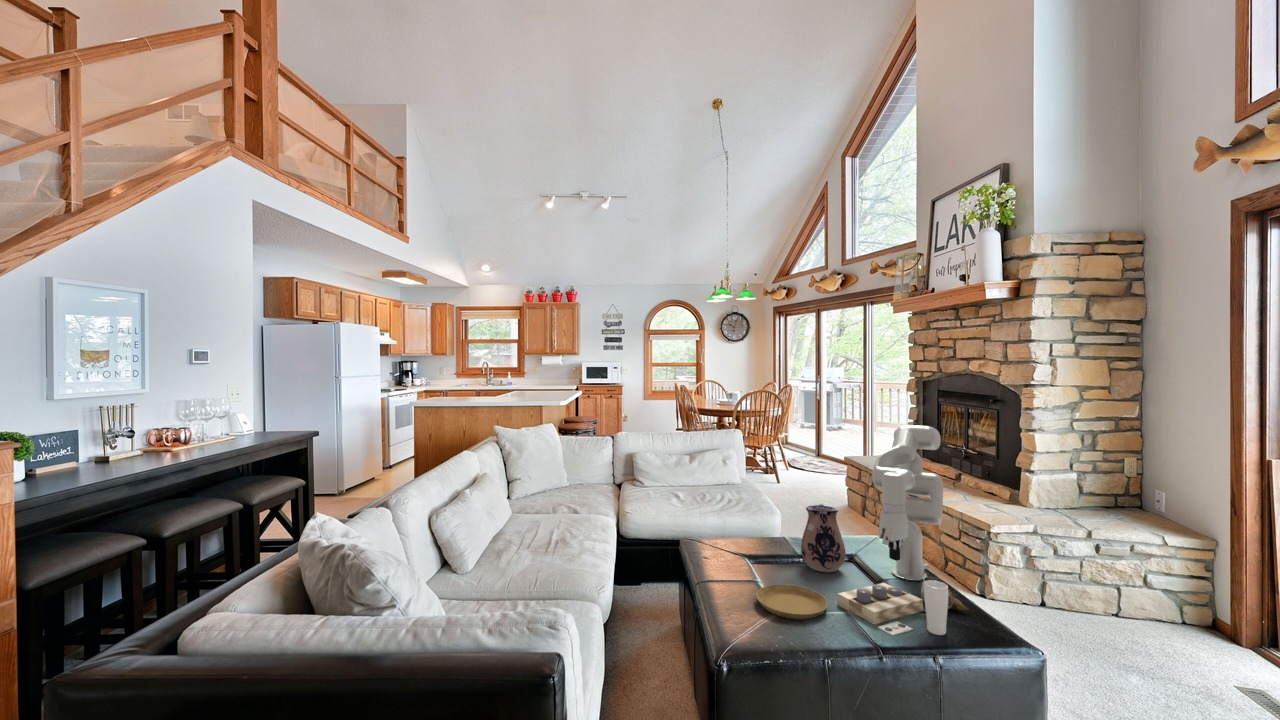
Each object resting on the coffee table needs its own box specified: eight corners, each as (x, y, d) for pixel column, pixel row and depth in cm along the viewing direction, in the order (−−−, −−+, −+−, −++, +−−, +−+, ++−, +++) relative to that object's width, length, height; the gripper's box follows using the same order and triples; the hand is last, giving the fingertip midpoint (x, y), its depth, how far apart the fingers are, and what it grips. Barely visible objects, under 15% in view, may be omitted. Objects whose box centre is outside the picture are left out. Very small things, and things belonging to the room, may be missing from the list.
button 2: (893, 599, 193) (893, 586, 193) (905, 605, 189) (904, 591, 189) (884, 602, 191) (884, 588, 191) (895, 607, 187) (895, 593, 187)
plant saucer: (839, 607, 188) (839, 597, 188) (806, 630, 171) (806, 620, 171) (778, 587, 205) (778, 578, 205) (743, 607, 188) (743, 597, 188)
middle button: (878, 597, 190) (878, 584, 190) (889, 603, 186) (889, 589, 186) (869, 600, 188) (869, 586, 188) (880, 605, 184) (880, 591, 184)
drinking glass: (919, 627, 173) (919, 580, 173) (939, 626, 173) (939, 579, 174) (933, 637, 166) (932, 588, 166) (953, 636, 167) (953, 588, 167)
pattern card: (897, 622, 176) (897, 620, 176) (912, 629, 171) (912, 628, 171) (877, 628, 172) (877, 626, 172) (892, 635, 167) (892, 633, 167)
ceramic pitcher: (805, 575, 216) (805, 513, 216) (796, 557, 237) (796, 501, 237) (850, 577, 214) (850, 514, 214) (837, 559, 235) (837, 502, 235)
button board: (884, 593, 199) (884, 582, 199) (922, 611, 184) (922, 599, 184) (837, 604, 189) (837, 593, 189) (874, 624, 175) (874, 612, 175)
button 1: (863, 601, 187) (863, 587, 187) (874, 607, 183) (874, 592, 183) (853, 604, 185) (853, 590, 185) (864, 609, 181) (864, 595, 181)
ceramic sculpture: (935, 572, 196) (971, 591, 181) (934, 596, 196) (970, 616, 182) (911, 576, 193) (945, 595, 178) (910, 600, 193) (945, 621, 179)
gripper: (899, 502, 197) (900, 552, 197) (870, 507, 191) (870, 559, 191) (917, 507, 190) (918, 559, 190) (887, 513, 184) (888, 566, 184)
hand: (894, 559), depth 191 cm, fingers closed
